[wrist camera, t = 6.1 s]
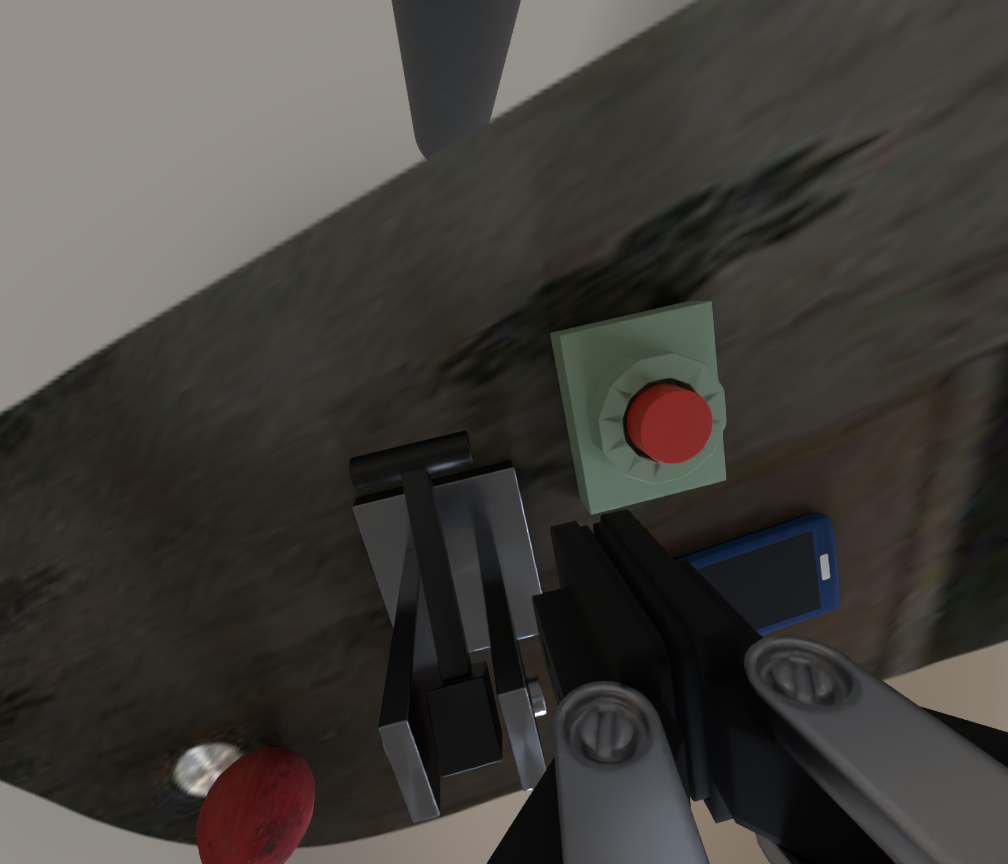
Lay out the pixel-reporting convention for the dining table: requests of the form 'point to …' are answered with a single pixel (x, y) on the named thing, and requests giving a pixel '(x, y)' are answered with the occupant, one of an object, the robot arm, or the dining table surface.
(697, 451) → the red button
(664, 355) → the button housing
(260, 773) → the onion
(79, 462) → the dining table surface
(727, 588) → the cell phone
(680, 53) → the dining table surface
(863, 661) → the dining table surface
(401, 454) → the press lever
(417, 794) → the lever bracket
